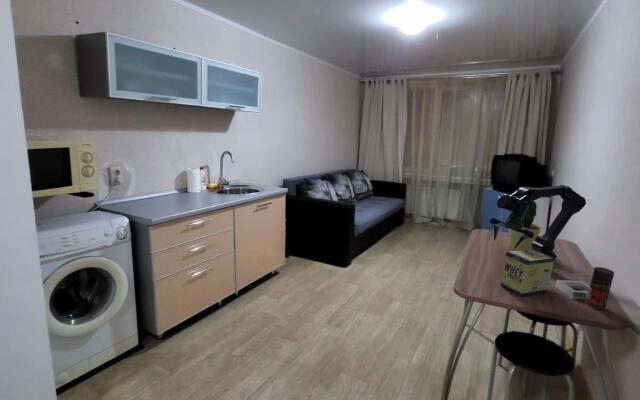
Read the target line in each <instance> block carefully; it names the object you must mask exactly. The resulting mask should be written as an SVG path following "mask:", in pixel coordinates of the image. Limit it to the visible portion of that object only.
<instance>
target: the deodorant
mask: <svg viewBox="0 0 640 400" xmlns="http://www.w3.org/2000/svg"><path fill="white" fill-rule="evenodd" d="M614 276H615V272H614V271H613V270H611V269H609V268H605V267H601V266H600V267H599V266H595V267H594V268H593V272H592V276H591V280H590V285H589V286H590V288H589V292H588V296H587V300H586V299H585V300H586V301H585V304H586V306H587V305H588V306H587V307H589V308H591V307H592V308H591V309H593V308H595V309H594V310H597V309H601V310H600V311H604V310H603V309H605V310H606V306H607V302H608V298H609V294H610V292H611V287H612V283H613V279H614Z"/></svg>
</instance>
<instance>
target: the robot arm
mask: <svg viewBox="0 0 640 400" xmlns="http://www.w3.org/2000/svg"><path fill="white" fill-rule="evenodd" d="M554 196H555V197H556V196H559V197H560V198H561V200H562V202H561V210H560V211H559V213H558V214H557V215H556V217H555V218H554V219H553V221H552V222H551V224H550V226H549V227H548V229H547V230H546V231H545V232H544V234H543V235H541V236H539V235H538V236H537V237H536V238H535V240H534V241H533V242H532V243H533V244H532V249H533V250H536V251H538V252H541V253H543V254H546V255H548V256H551V257H553V258H555V259H554V261H555V260H556V259H557V254H555V253H556V252H554V249H555V245H556V243H555V241H556V239H557V238H558V237H559V235H560V233H561V232H562V231H563V229H564V228H565V227H566V225H567V224H568V222H569V221H570V220H571V218H572V217H573V216H574V215H575V214H578V213H579V212H581V211H582V209H583V208H584V207H585V206H586V205H587V201H586V198H585V197H584V196H582V195H581V194H579V193H578V192H576V191H574V190H573V189H572V188H571V187H570V186H568V185H563V184H560V185H554V186H544V187H530V186H520V187H519V188H518V189H517V190H516V191H515V192H513V193H512V194H510V195H508V194H505V193H503V195H502V196H500V197H499V198H498V199H497V200H496V206H497V208H498V209H500V210H501V209H502V210H504V211H505V210H506V211H509V212H510V213H509V215H508V217H507V218H506V220H505V222H503V221H502V220H501V219H499V218H497V217H491V218H489V222H488V223H489V224H491V226H492V227H493V241H496V239H497V236H498V233H499V231H500V227H504V228H505V229H508V230H509V229H511V230H514V231H517V232H520V233H523V235H522V236H521V237H520V239H519V241H518V242H517V244H516V245H515V248H516V247H517V246H518V245H519V244H520V243H521V242H522V241H523V240H524V239H529V238H533V236H534V234H535V233H534V232H533V231H530V230H528V229H525V230H523V229H522V227H523V224H524V222H522V220H523V218H524V215H525V213H526V211H527V209H528V207H531V208H533V205H532V204H531V202H530V201H537V200H538V199H539V198H546V197H554ZM526 201H527V202H526Z"/></svg>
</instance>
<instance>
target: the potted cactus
mask: <svg viewBox="0 0 640 400" xmlns="http://www.w3.org/2000/svg"><path fill="white" fill-rule="evenodd" d="M536 201H537V200H534V201H530V202H531V204H532V205H533V208H531V207H528V209H527V211H526V213H525V215H524V218H523V220H522V222H524V224H523V227H522V229H523V230H525V229H528V230H530V231H533V232H534V233H535V234H534V236H533V238H529V239H524V240H523V241H522V242H521V243H520V244H519V245H518V246H517V247H516V248H515V245H516V244H517V242H518V241H519V239H520V237H521V236H522V235H523V233H520V232H517V231H514V230H511V229H509V228H508V249H509V251H519V250H527V249H532V244H533V243H532V242H533V241H534V240H535V238H536V237H537V236H539V235H540V233H541V230H542V227H541V225H537V224H534V223H535V219H536V217H537V213H538V211H539V207H538V203H537V202H536ZM526 202H527V201H526ZM537 210H538V211H537Z"/></svg>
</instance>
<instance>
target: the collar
mask: <svg viewBox="0 0 640 400" xmlns="http://www.w3.org/2000/svg"><path fill="white" fill-rule="evenodd" d="M555 288H557V289H558V290H559V291H561V292H562V293H564V294H565V295H567V296H568V297H569V298H571V299H573V300H574V299H575V300H587V296H588V292H589V288H590V285H588V284H586V283H585V282H584V281H581V280H579V281H578V280H568V279H567V280H565V279H556V281H555ZM575 289H577V290H575Z"/></svg>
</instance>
